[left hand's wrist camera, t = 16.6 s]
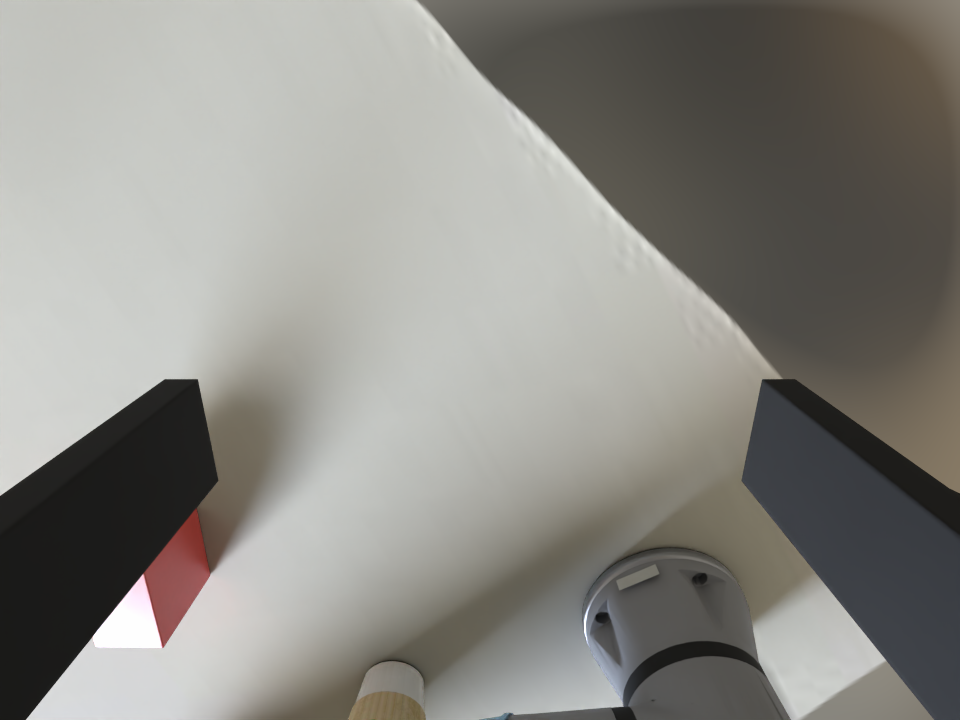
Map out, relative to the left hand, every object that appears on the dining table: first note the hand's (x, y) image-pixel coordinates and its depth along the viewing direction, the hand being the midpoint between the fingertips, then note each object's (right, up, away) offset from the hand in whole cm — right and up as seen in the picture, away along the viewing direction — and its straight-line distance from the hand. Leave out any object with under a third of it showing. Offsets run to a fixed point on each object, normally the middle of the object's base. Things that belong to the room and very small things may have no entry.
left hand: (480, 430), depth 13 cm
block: (-28, -15, +36) cm, 48 cm away
